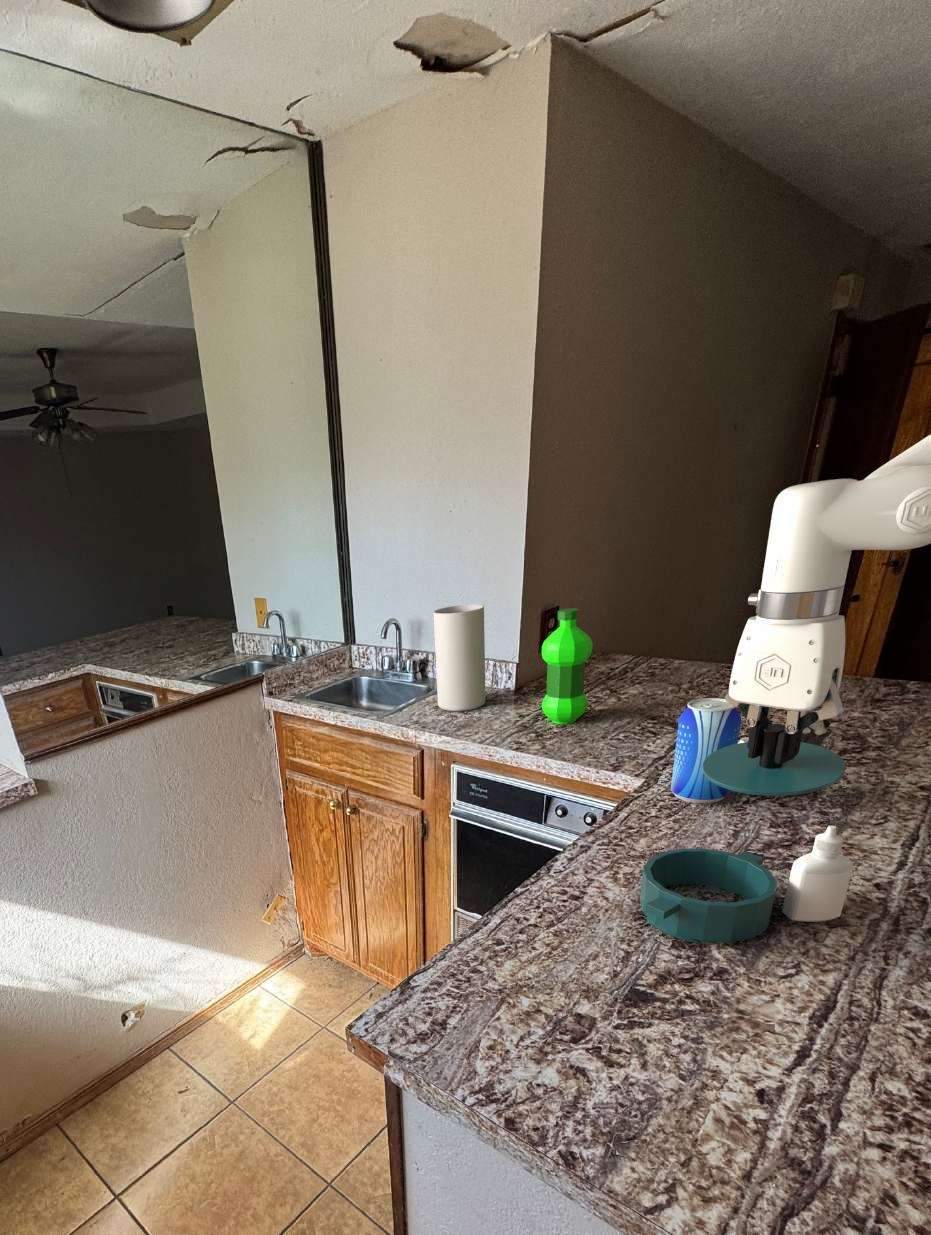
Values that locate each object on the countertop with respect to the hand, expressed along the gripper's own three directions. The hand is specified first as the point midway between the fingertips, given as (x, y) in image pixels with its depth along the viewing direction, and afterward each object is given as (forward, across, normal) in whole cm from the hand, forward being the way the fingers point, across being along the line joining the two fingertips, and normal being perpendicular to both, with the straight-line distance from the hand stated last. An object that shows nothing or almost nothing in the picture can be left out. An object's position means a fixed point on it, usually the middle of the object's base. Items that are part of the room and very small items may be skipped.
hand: (771, 757), depth 81 cm
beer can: (+16, -18, +16) cm, 29 cm away
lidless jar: (+16, -23, +38) cm, 47 cm away
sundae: (+16, -10, +28) cm, 34 cm away
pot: (+16, +2, -14) cm, 21 cm away
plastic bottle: (+16, -63, +34) cm, 73 cm away
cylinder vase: (+16, -93, +29) cm, 99 cm away
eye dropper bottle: (+16, +10, -6) cm, 20 cm away
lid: (+2, 0, 0) cm, 2 cm away
